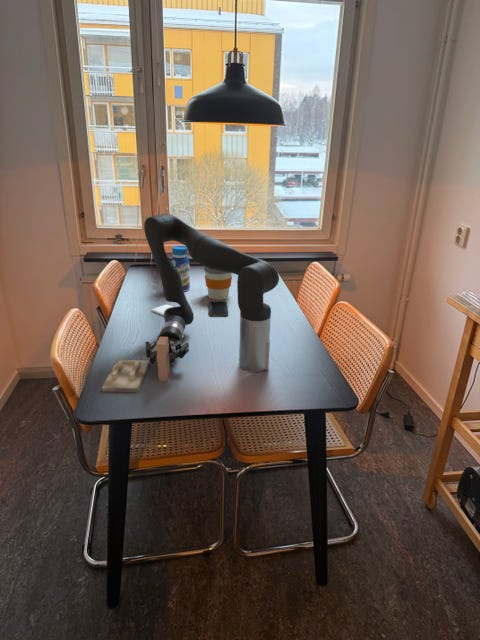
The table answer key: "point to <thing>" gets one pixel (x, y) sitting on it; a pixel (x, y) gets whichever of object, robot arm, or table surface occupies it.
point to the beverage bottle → (182, 265)
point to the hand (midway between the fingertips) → (161, 361)
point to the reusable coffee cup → (217, 283)
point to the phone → (218, 309)
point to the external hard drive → (161, 309)
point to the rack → (126, 376)
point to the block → (163, 358)
